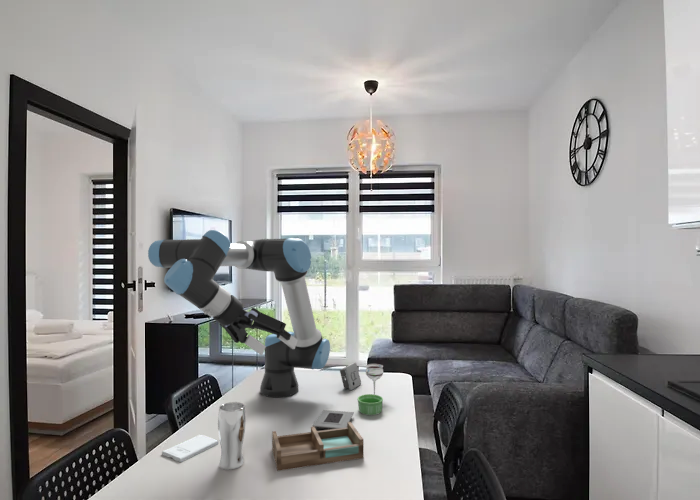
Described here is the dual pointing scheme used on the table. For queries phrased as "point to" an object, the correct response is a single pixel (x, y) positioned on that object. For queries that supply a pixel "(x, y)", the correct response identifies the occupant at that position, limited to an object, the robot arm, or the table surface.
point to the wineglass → (374, 372)
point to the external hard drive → (190, 448)
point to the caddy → (317, 447)
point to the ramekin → (370, 404)
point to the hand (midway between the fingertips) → (278, 347)
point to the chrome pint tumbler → (231, 434)
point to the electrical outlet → (333, 419)
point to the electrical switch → (350, 376)
